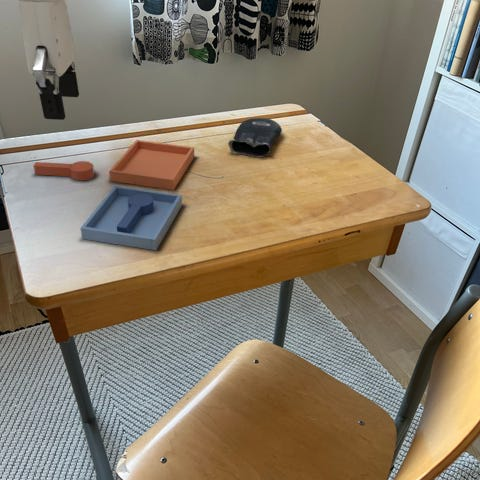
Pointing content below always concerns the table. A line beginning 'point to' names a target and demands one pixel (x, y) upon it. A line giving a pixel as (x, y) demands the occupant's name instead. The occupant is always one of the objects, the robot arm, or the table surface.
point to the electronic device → (255, 137)
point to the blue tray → (146, 229)
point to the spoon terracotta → (66, 169)
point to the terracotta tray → (152, 164)
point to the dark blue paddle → (135, 212)
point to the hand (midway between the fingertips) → (62, 107)
